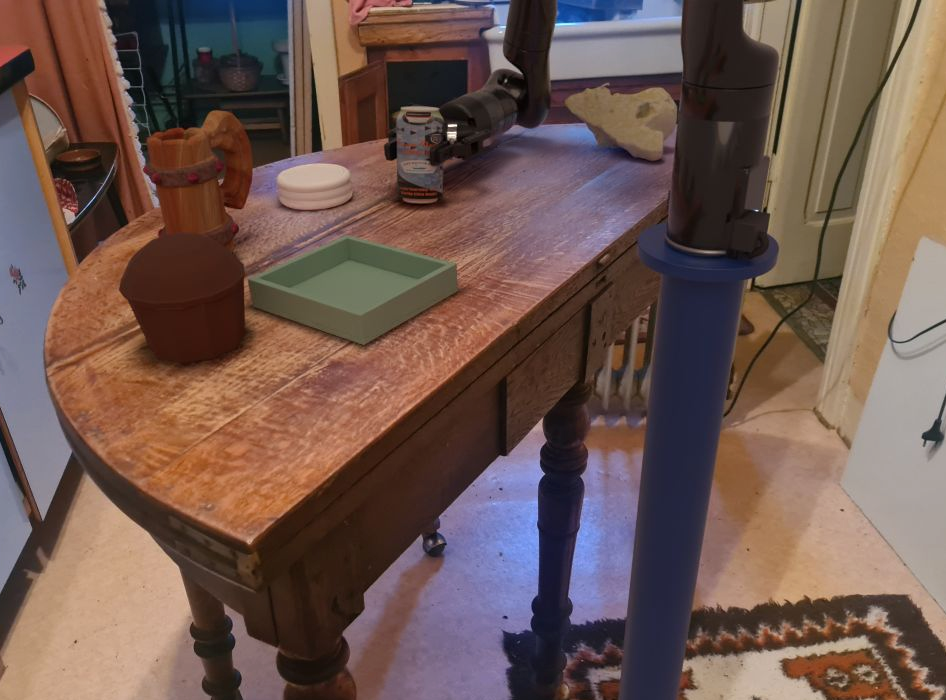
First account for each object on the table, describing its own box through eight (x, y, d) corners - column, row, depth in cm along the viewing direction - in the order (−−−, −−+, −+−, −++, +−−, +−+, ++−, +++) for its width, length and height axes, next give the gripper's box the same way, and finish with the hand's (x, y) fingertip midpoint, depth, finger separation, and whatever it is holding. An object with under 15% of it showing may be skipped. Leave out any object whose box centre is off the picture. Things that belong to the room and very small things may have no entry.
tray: (458, 291, 90) (456, 263, 88) (363, 345, 80) (360, 315, 79) (350, 260, 98) (346, 234, 96) (252, 306, 88) (247, 278, 86)
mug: (201, 280, 94) (170, 140, 86) (148, 268, 98) (113, 132, 89) (286, 236, 105) (265, 108, 96) (236, 226, 108) (212, 102, 100)
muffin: (260, 360, 78) (240, 256, 73) (134, 378, 76) (103, 273, 71) (253, 307, 88) (235, 212, 82) (141, 322, 86) (114, 226, 80)
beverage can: (393, 209, 112) (385, 113, 105) (406, 191, 118) (399, 99, 111) (440, 210, 111) (435, 114, 104) (451, 192, 117) (447, 100, 110)
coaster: (269, 195, 118) (265, 170, 116) (337, 183, 122) (333, 158, 120) (294, 216, 111) (290, 189, 109) (364, 202, 115) (362, 175, 113)
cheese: (692, 167, 129) (662, 86, 133) (692, 141, 122) (661, 55, 126) (594, 202, 132) (568, 120, 136) (589, 177, 125) (562, 93, 129)
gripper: (423, 92, 122) (358, 120, 109) (515, 99, 116) (458, 129, 104) (426, 146, 126) (364, 178, 114) (515, 155, 120) (460, 191, 108)
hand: (409, 155), depth 109 cm, fingers closed on beverage can, 6 cm apart
